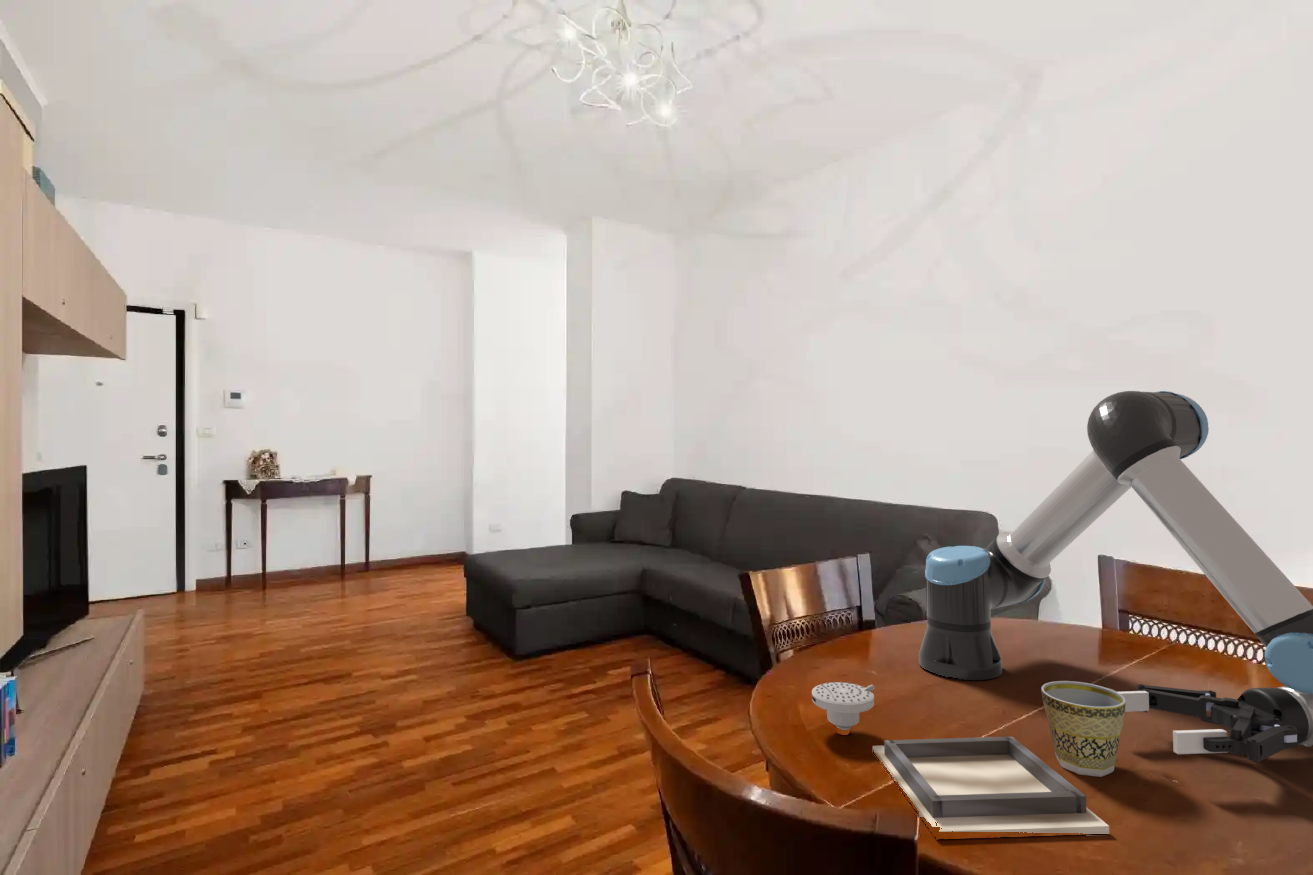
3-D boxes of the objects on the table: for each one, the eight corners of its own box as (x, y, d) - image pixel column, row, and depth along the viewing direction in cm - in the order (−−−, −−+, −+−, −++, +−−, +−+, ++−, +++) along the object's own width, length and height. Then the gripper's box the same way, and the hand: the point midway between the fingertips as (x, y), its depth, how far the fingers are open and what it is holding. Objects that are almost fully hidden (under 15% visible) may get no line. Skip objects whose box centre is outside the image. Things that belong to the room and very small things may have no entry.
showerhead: (887, 695, 103) (822, 699, 102) (888, 743, 103) (824, 747, 102) (863, 674, 112) (803, 677, 111) (864, 718, 112) (805, 722, 111)
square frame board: (872, 752, 100) (872, 732, 100) (1007, 748, 100) (1007, 727, 100) (936, 840, 78) (935, 813, 78) (1109, 834, 78) (1108, 808, 78)
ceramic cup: (1100, 790, 88) (1098, 712, 88) (1027, 759, 97) (1025, 688, 97) (1155, 766, 94) (1153, 693, 94) (1082, 738, 103) (1080, 672, 103)
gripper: (1384, 787, 83) (1212, 794, 83) (1212, 707, 108) (1080, 712, 107) (1382, 726, 83) (1211, 731, 83) (1211, 660, 108) (1079, 664, 107)
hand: (1136, 720), depth 95 cm, fingers open, 13 cm apart
